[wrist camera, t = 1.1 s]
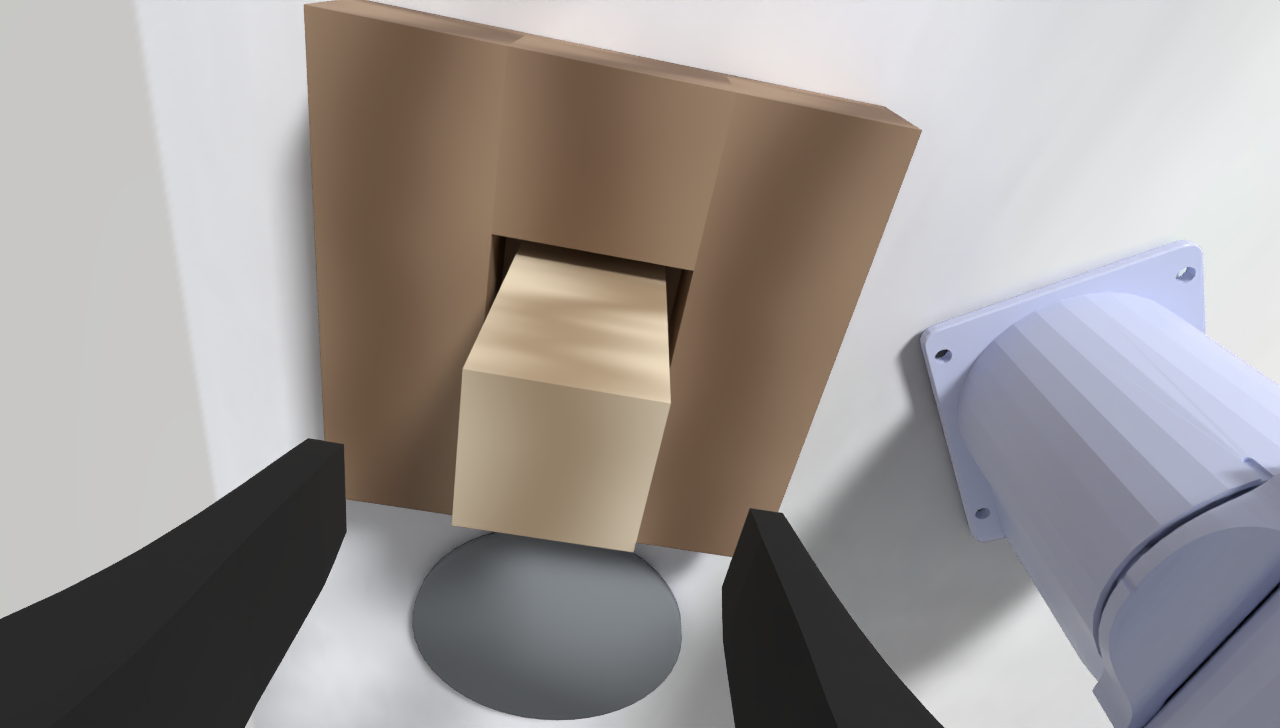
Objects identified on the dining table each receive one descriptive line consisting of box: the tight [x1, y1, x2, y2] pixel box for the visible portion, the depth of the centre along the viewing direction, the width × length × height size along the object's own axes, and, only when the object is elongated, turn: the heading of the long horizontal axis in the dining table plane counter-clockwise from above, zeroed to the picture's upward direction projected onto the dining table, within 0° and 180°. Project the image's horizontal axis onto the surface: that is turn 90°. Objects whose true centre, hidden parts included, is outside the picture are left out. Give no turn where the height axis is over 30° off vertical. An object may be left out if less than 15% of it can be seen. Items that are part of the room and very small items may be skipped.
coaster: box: [413, 532, 682, 720], centre depth 29 cm, size 11×11×1 cm
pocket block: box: [304, 0, 922, 557], centre depth 20 cm, size 14×14×3 cm
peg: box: [452, 240, 671, 552], centre depth 18 cm, size 4×4×8 cm
